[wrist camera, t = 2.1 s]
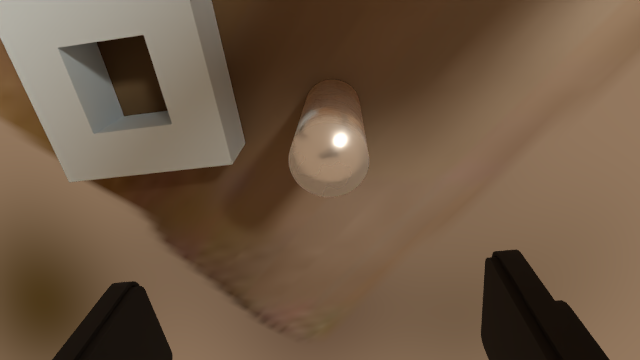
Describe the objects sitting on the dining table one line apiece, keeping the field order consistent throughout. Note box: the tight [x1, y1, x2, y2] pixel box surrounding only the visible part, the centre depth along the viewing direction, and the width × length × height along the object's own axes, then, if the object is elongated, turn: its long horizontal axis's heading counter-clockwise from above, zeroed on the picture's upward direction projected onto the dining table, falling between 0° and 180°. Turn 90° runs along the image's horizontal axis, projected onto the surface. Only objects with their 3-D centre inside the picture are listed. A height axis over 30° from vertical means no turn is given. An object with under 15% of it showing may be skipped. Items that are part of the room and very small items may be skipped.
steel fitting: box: [288, 79, 369, 197], centre depth 23 cm, size 4×4×10 cm
